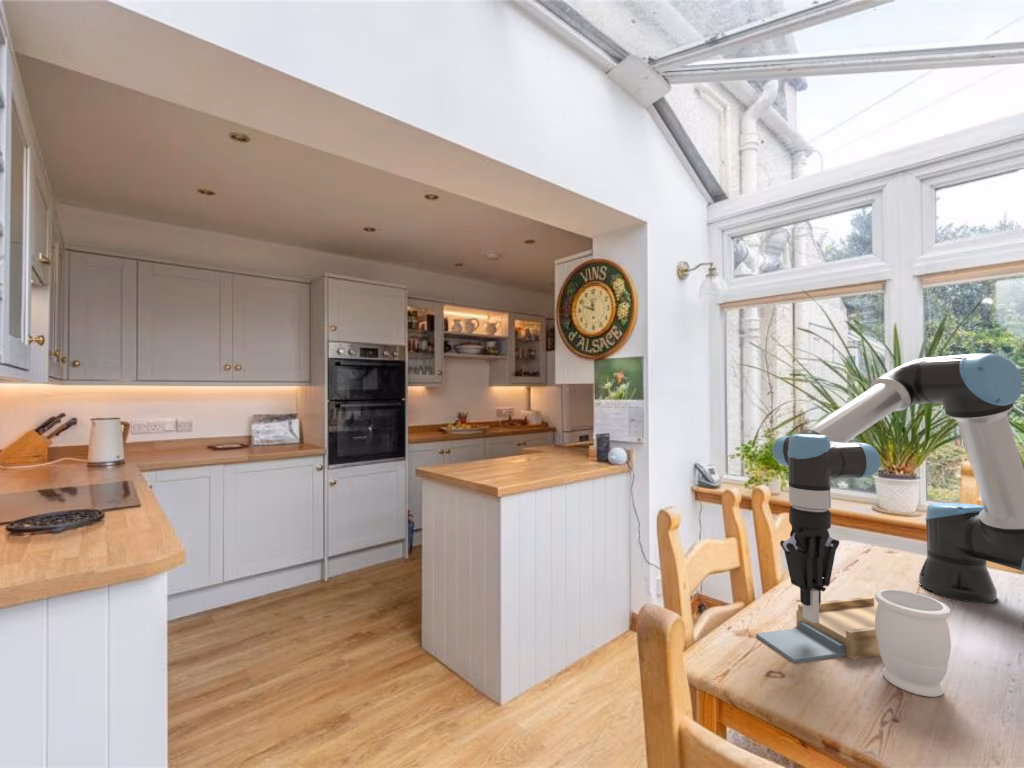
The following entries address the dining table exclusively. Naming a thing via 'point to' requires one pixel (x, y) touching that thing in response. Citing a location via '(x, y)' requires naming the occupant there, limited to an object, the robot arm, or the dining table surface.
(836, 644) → the cover plate
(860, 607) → the slide box
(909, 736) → the dining table surface
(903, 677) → the jar
